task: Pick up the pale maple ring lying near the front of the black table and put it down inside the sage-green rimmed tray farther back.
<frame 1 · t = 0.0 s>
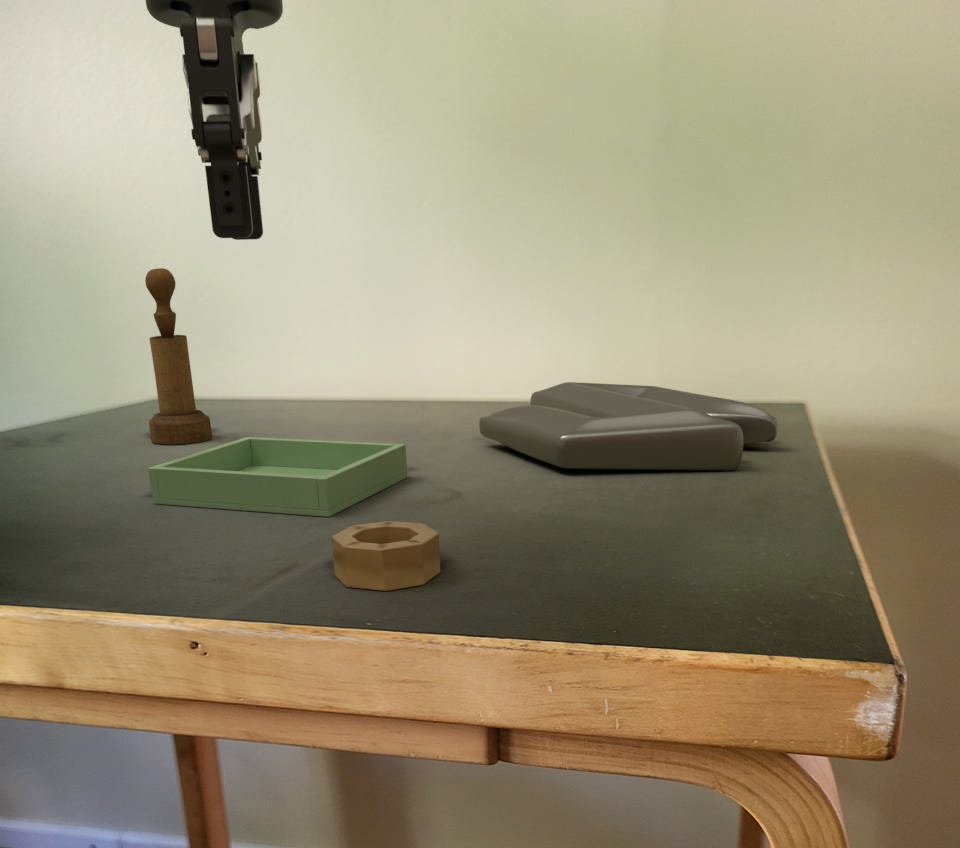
hand: (240, 238, 59), 20 cm above the table, tool pointing down, fingers open, 8 cm apart
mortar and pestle: (182, 441, 109), on the table
tray: (285, 490, 84), on the table
emblem: (622, 450, 98), on the table
ring: (387, 574, 61), on the table
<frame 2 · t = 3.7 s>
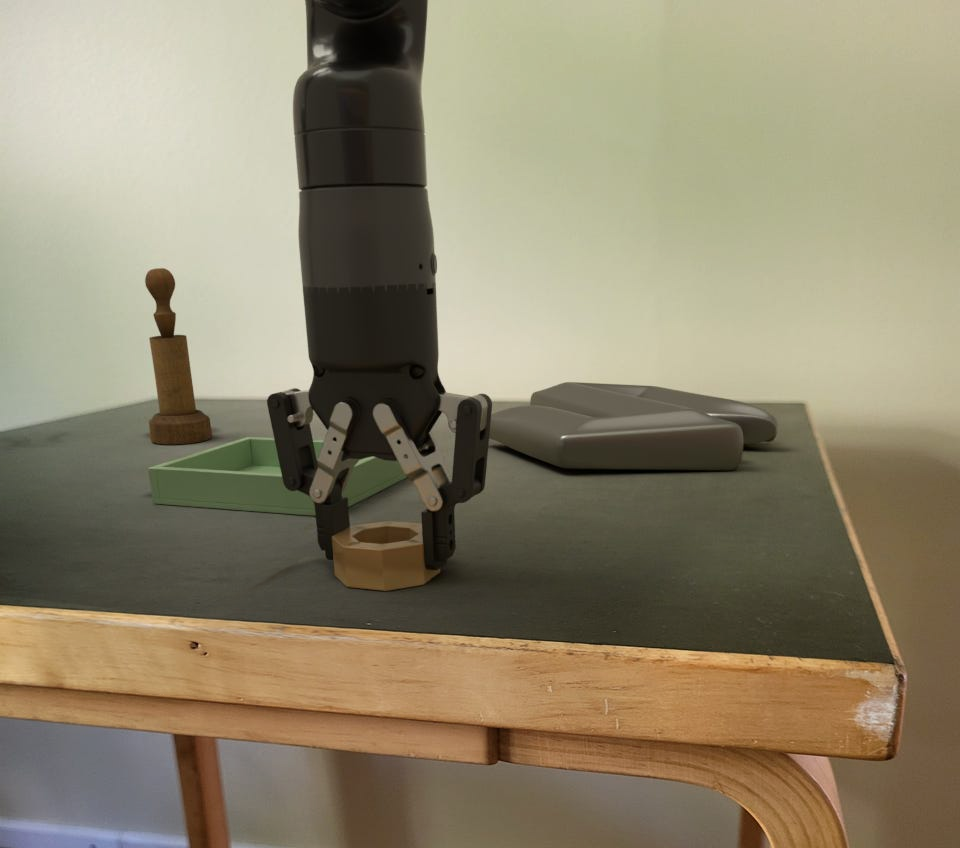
hand: (387, 561, 61), 1 cm above the table, tool pointing down, fingers closed on ring, 6 cm apart
ring: (387, 574, 61), on the table, touching gripper
everything else where it was.
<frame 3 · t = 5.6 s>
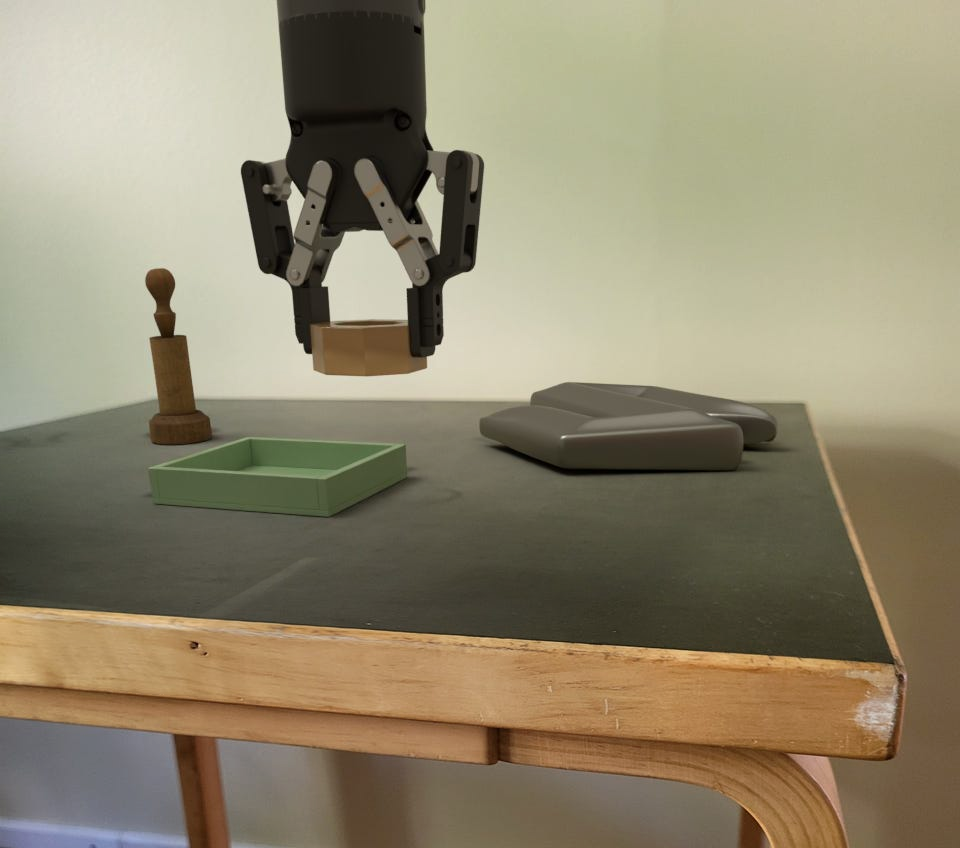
hand: (369, 353, 56), 13 cm above the table, tool pointing down, fingers closed on ring, 6 cm apart
ring: (370, 369, 57), point 13 cm above the table, touching gripper
everything else where it was.
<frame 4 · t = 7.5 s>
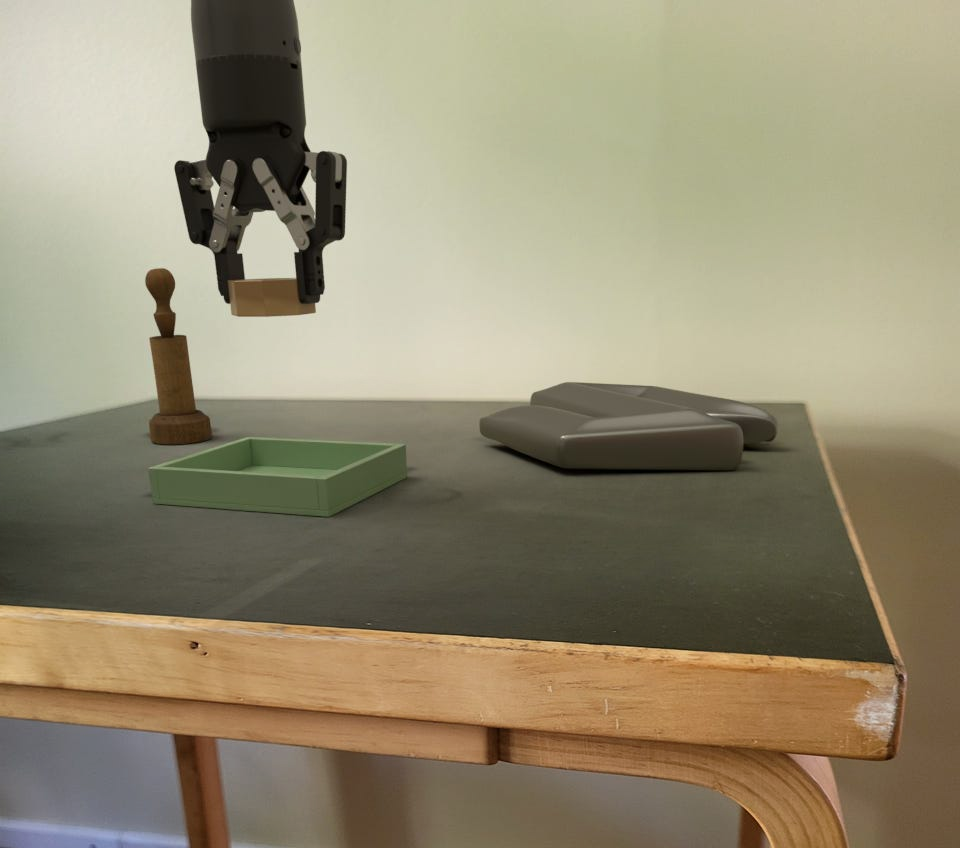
hand: (272, 302, 76), 15 cm above the table, tool pointing down, fingers closed on ring, 6 cm apart
ring: (273, 314, 77), point 15 cm above the table, touching gripper
everything else where it was.
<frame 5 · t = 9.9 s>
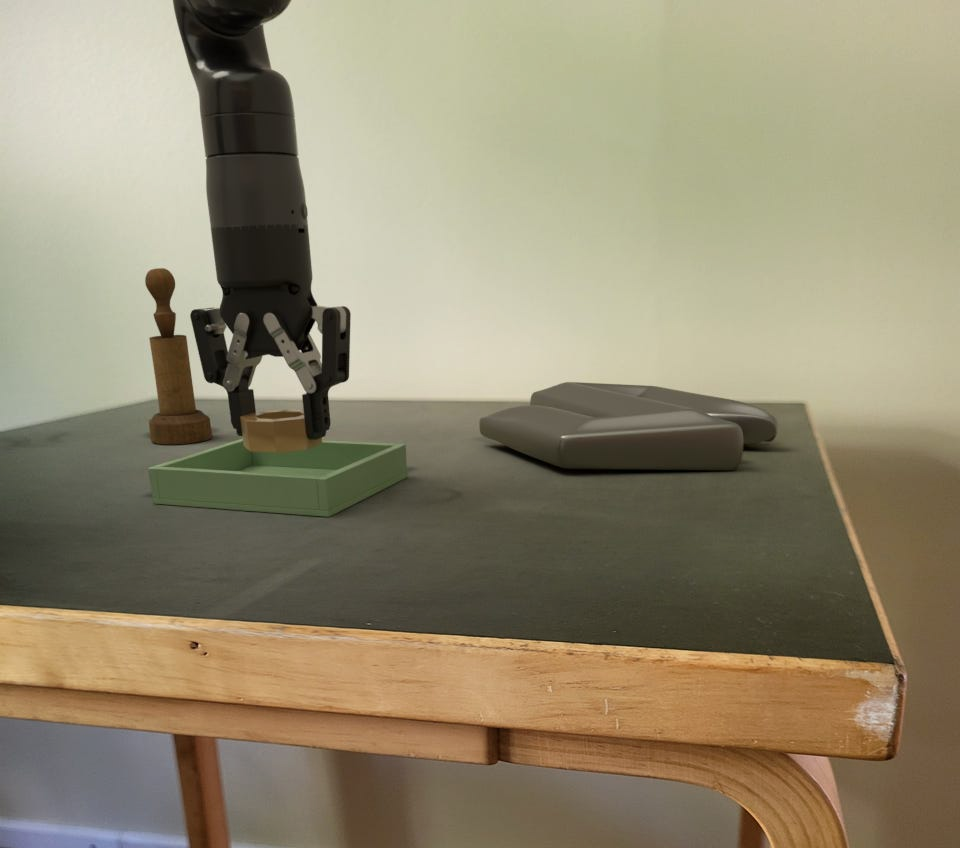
hand: (281, 435, 82), 5 cm above the table, tool pointing down, fingers closed on ring, 6 cm apart
ring: (283, 445, 83), point 4 cm above the table, touching gripper
everything else where it was.
when the fingers open (1 cm above the table, at t = 11.4 s): ring stays where it is, resting on tray.
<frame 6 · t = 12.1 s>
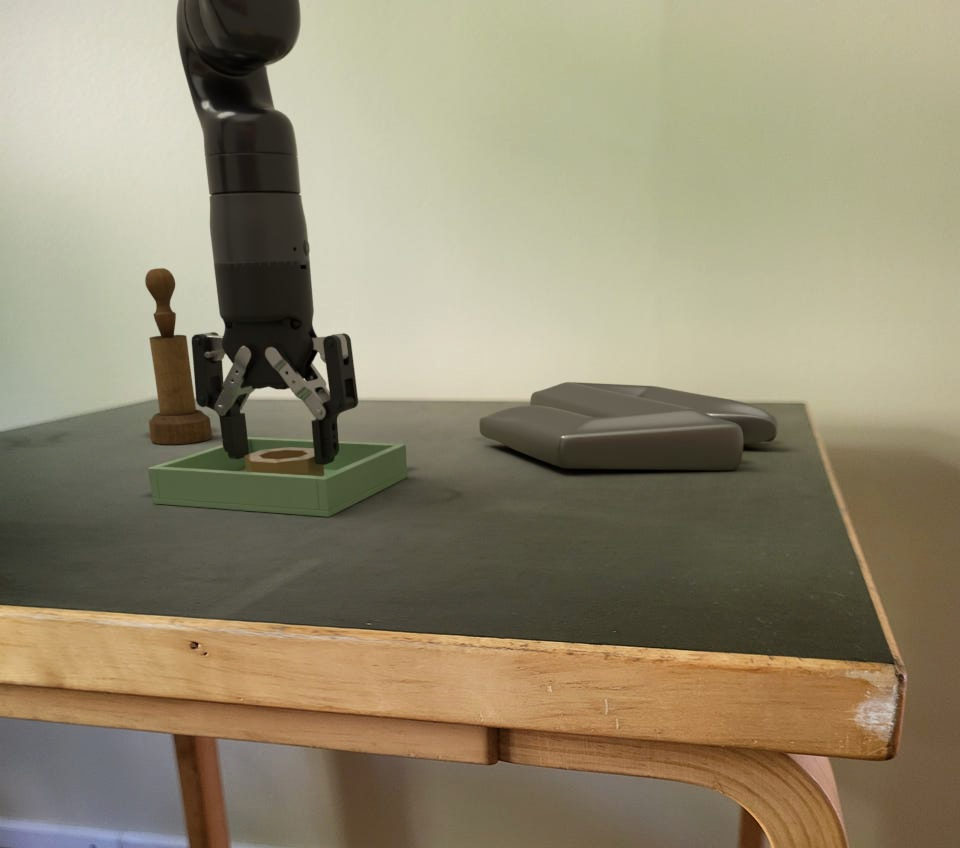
hand: (281, 460, 83), 3 cm above the table, tool pointing down, fingers open, 8 cm apart
ring: (286, 484, 84), resting on tray
everything else where it was.
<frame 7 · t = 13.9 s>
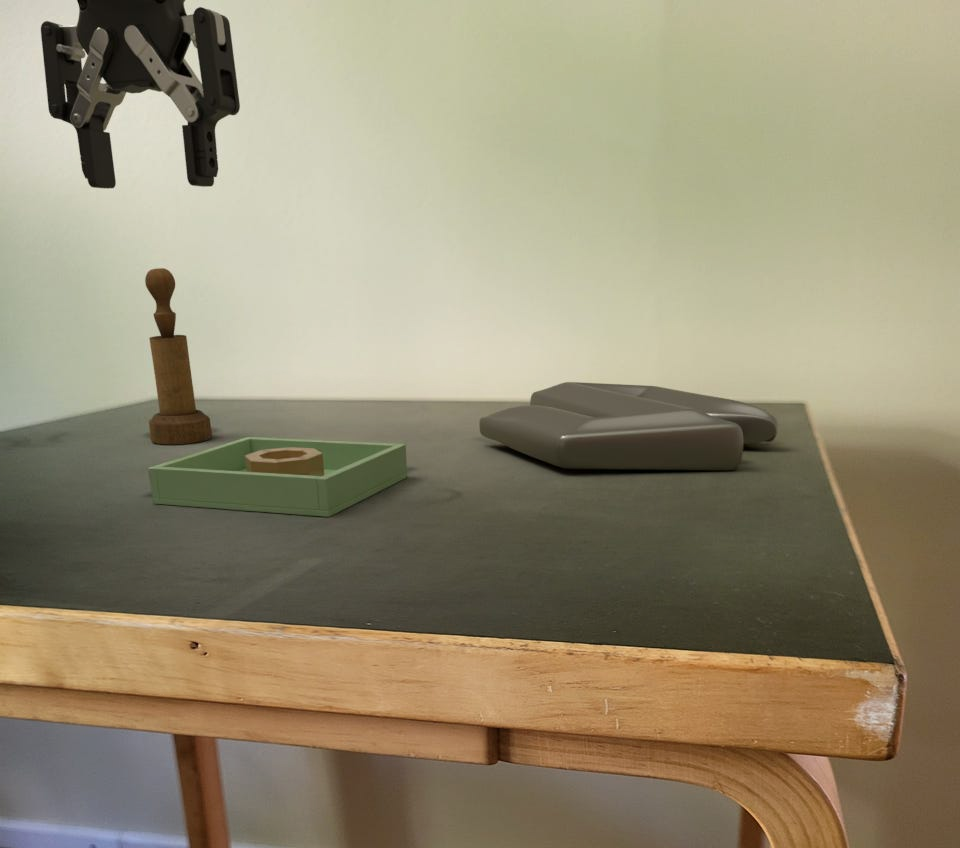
hand: (151, 186, 70), 24 cm above the table, tool pointing down, fingers open, 8 cm apart
nothing on the table moved.
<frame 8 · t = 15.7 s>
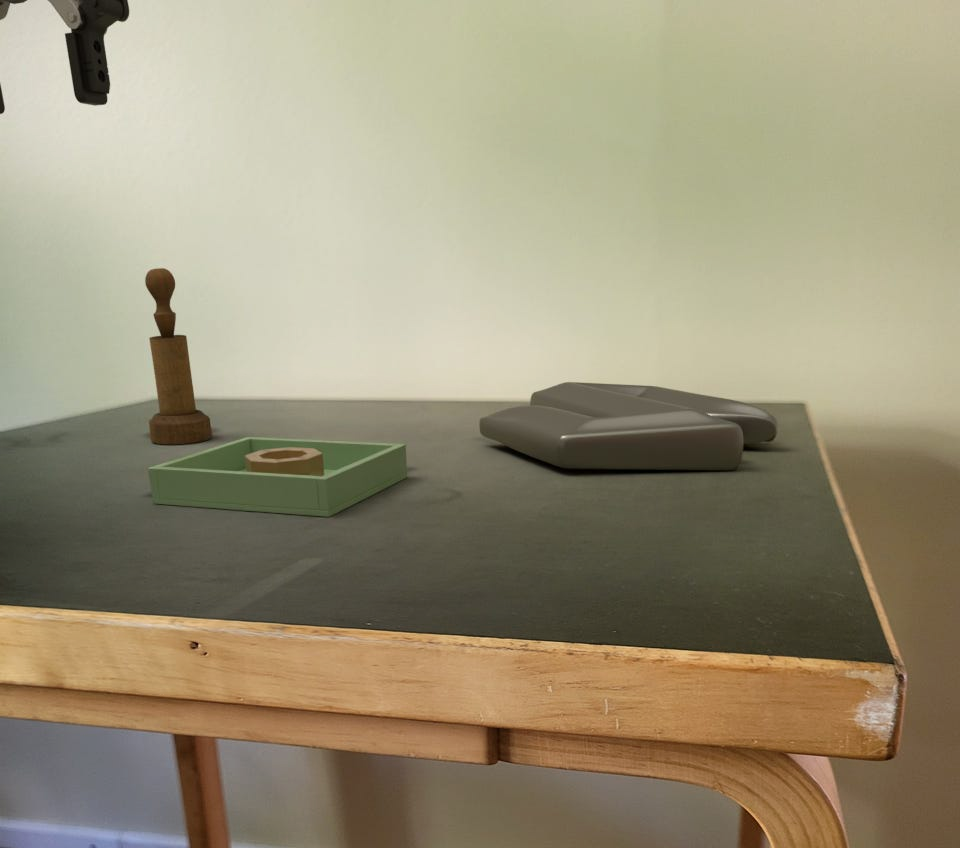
hand: (39, 108, 63), 28 cm above the table, tool pointing down, fingers open, 8 cm apart
nothing on the table moved.
at the end: ring inside the target area in the tray (0.1 cm from its centre), point 0.5 cm above the tray's base; ring tilted 0°; the gripper is holding nothing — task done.
